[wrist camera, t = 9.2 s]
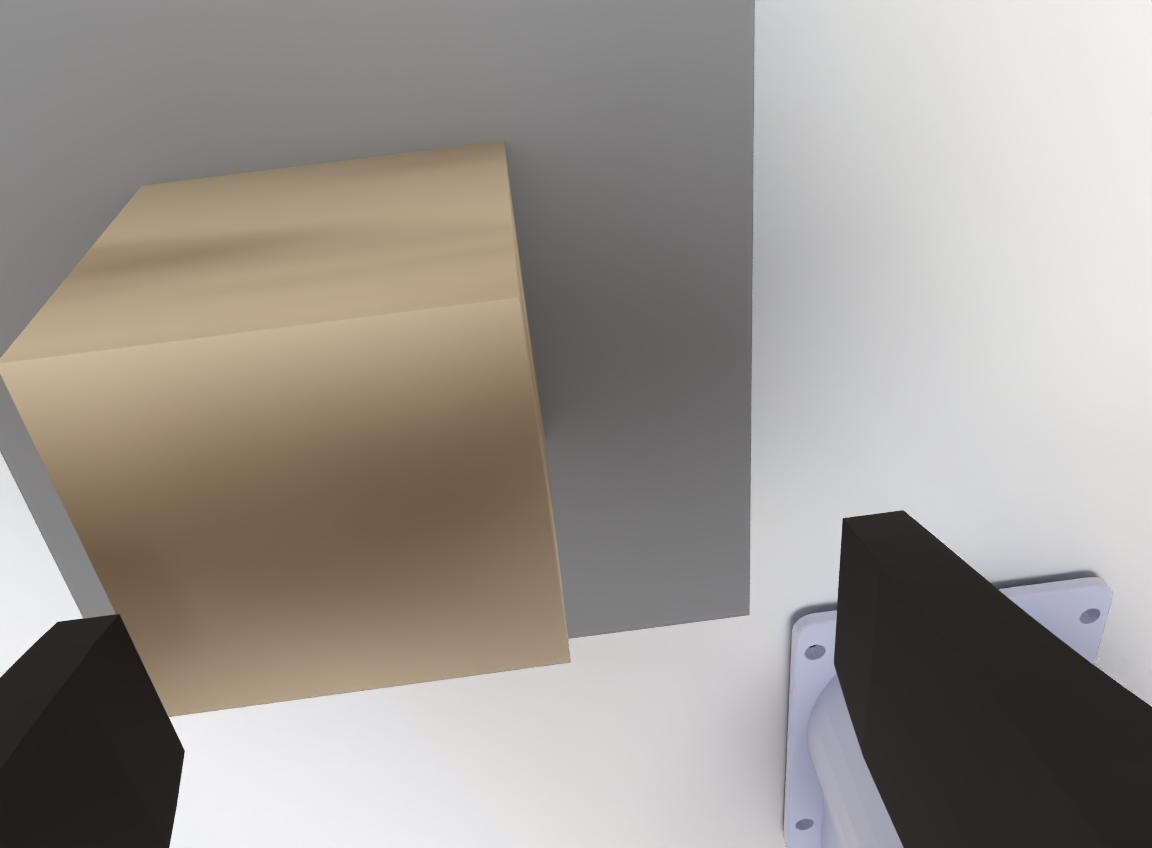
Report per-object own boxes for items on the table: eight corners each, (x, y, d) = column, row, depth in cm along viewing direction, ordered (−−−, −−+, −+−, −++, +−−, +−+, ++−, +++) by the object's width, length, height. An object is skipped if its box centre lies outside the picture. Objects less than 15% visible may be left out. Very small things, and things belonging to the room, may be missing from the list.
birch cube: (544, 439, 16) (570, 662, 12) (243, 478, 16) (165, 717, 12) (504, 141, 14) (518, 297, 10) (141, 186, 14) (-6, 363, 9)
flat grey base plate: (707, 490, 22) (749, 614, 19) (175, 558, 22) (122, 697, 19) (692, -259, 15) (757, -272, 11) (-124, -171, 14) (-303, -158, 11)
